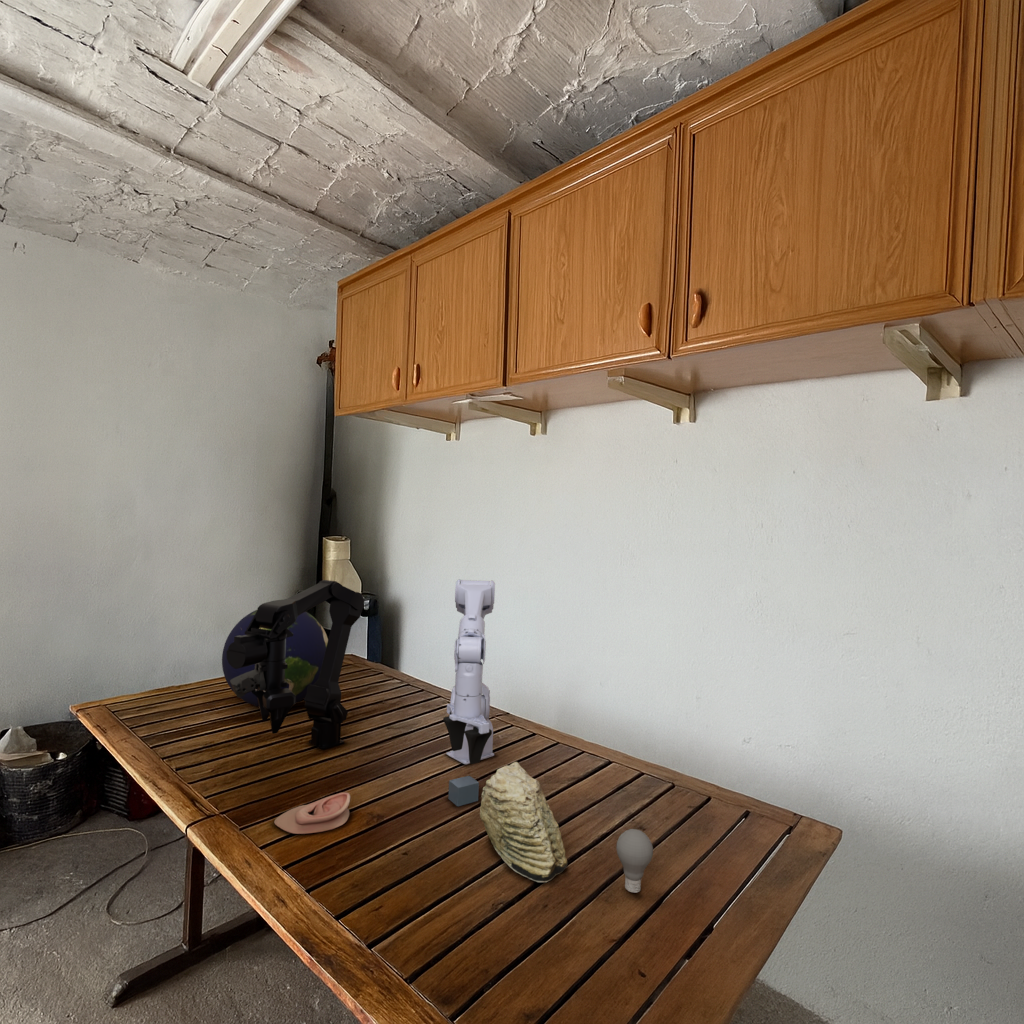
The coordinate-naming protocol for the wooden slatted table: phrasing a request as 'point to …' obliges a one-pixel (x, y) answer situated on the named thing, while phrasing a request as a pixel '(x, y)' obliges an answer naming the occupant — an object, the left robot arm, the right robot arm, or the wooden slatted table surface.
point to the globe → (287, 655)
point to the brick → (463, 790)
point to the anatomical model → (316, 815)
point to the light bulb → (634, 857)
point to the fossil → (522, 824)
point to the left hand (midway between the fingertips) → (269, 726)
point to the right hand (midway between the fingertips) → (465, 756)
